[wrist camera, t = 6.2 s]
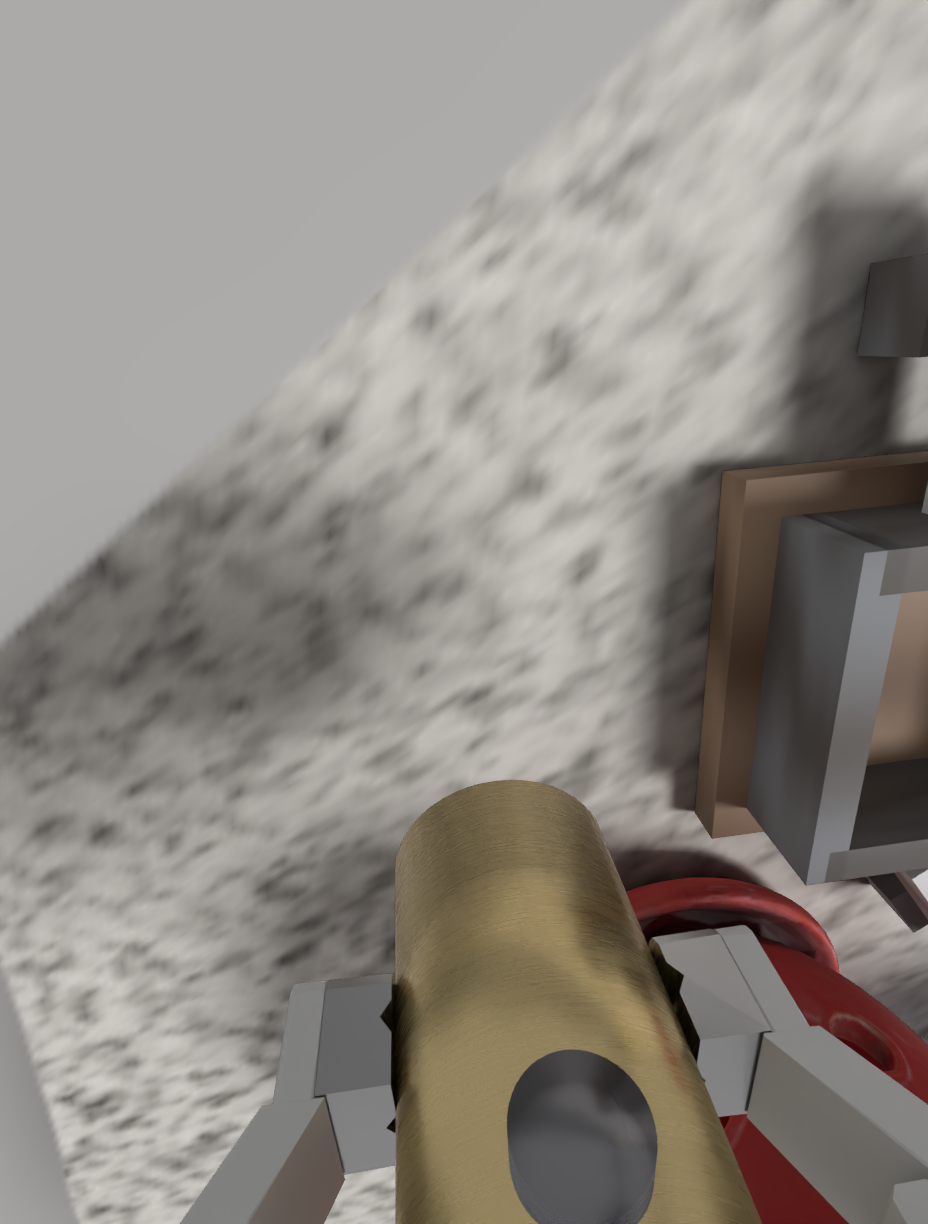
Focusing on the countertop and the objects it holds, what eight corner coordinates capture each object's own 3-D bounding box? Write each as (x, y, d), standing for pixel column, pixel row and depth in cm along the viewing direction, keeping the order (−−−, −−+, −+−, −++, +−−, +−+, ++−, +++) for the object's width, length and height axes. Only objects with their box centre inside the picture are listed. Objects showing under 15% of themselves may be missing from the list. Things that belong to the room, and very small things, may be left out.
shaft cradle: (740, 249, 14) (868, 213, 11) (1147, 218, 15) (1408, 173, 11) (686, 913, 22) (747, 1031, 19) (954, 874, 23) (1067, 980, 19)
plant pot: (454, 1085, 25) (503, 1677, 14) (543, 815, 20) (726, 1383, 9) (753, 1095, 27) (1001, 1608, 16) (895, 856, 22) (1380, 1347, 11)
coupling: (381, 775, 11) (361, 1384, 5) (607, 749, 11) (884, 1294, 5) (408, 965, 13) (420, 1579, 7) (601, 940, 13) (792, 1505, 7)
